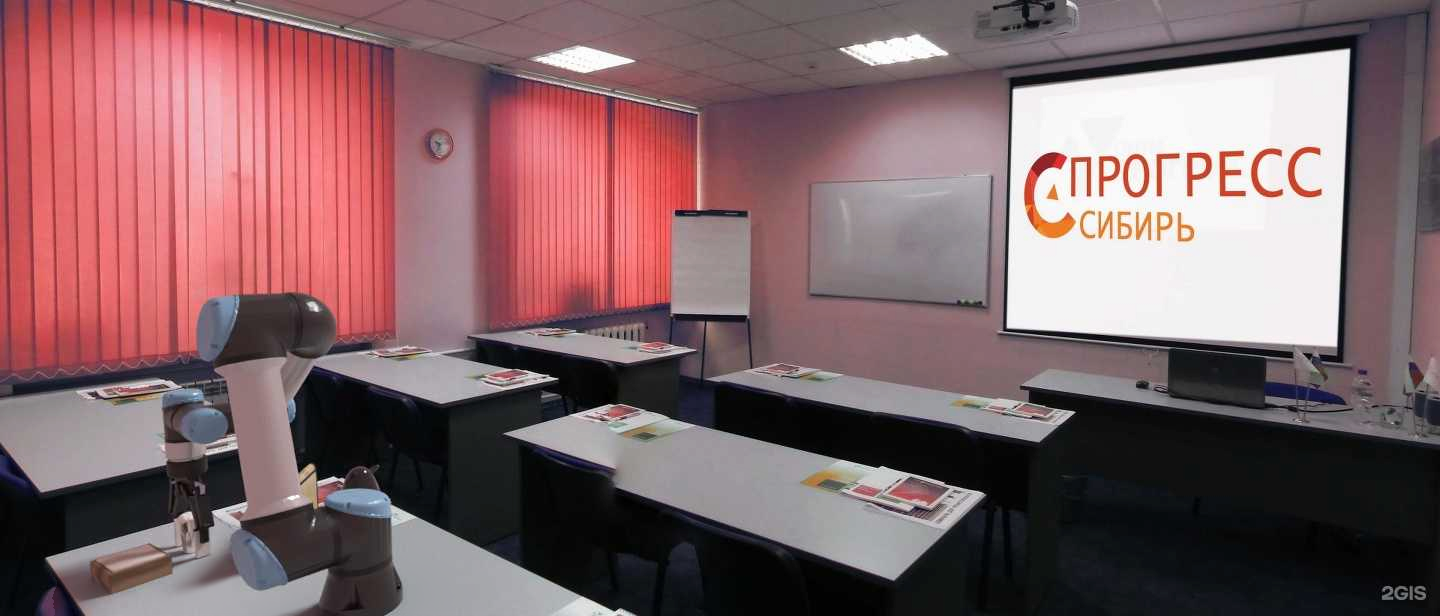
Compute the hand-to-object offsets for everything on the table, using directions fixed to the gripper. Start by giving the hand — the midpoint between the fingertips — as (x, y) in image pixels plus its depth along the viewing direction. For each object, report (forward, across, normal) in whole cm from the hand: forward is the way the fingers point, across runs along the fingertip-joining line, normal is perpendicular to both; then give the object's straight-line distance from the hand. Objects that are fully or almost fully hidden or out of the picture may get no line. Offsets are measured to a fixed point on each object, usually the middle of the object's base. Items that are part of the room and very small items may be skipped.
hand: (193, 549), depth 164 cm
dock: (0, -3, +12) cm, 13 cm away
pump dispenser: (0, -18, -30) cm, 35 cm away
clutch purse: (+1, -12, -14) cm, 19 cm away
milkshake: (0, 0, 0) cm, 0 cm away
